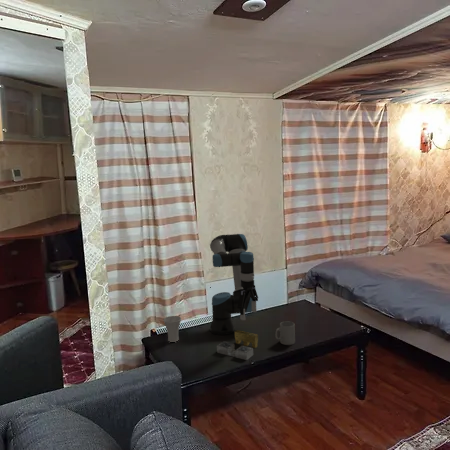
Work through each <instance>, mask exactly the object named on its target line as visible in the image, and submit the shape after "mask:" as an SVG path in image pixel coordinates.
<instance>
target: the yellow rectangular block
mask: <svg viewBox="0 0 450 450" xmlns="http://www.w3.org/2000/svg"><path fill="white" fill-rule="evenodd" d="M234 340H235V344H237V345H240V344H241V342H243V346H247V347H249V345H250V343H251V348H253V349H256V348H257V347H258V342H259V334H257V333H254V332H247V331H243V330H239V329H237V330H234Z"/></svg>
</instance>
